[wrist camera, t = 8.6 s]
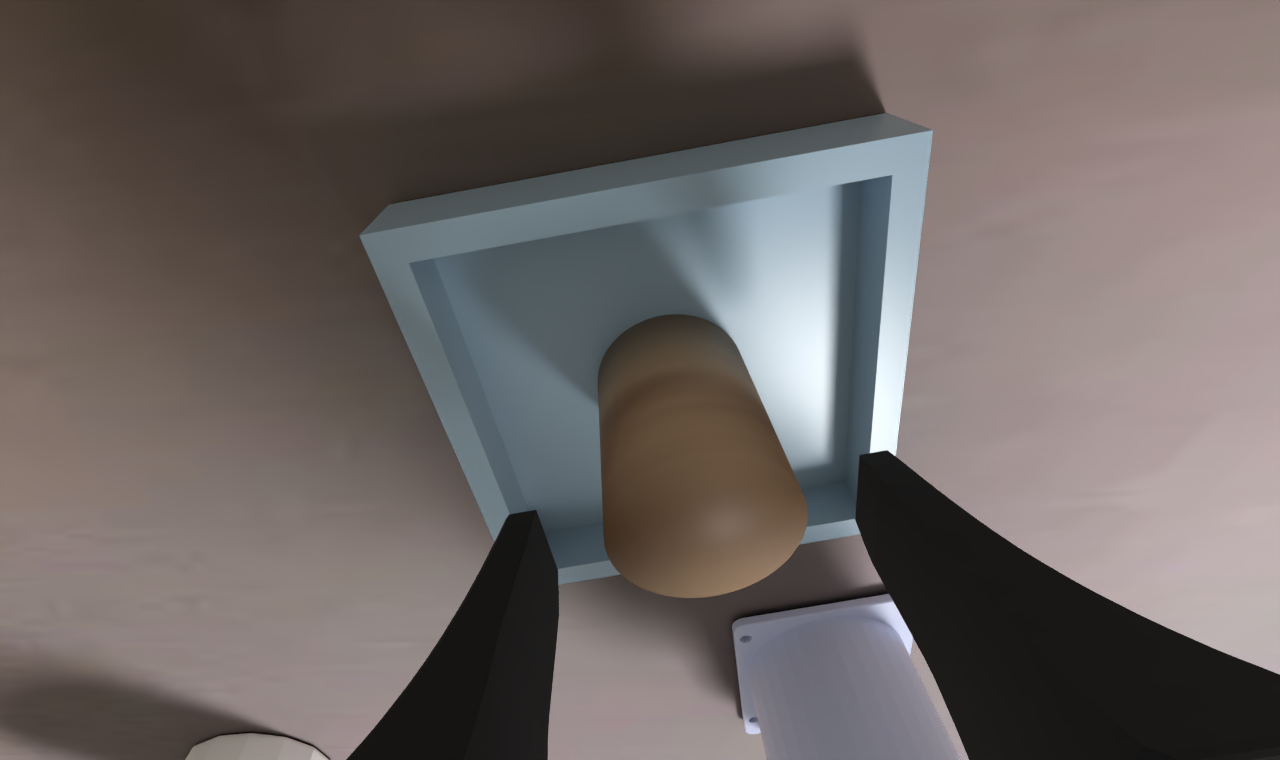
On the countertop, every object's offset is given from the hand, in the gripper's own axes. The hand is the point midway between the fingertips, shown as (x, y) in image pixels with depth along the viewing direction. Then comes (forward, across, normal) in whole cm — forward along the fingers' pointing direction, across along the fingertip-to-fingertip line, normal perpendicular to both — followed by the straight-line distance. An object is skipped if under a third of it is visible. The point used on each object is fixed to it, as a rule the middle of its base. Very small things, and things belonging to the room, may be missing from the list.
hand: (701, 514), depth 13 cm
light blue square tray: (+6, 0, 0) cm, 6 cm away
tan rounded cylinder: (+5, 0, 0) cm, 5 cm away
